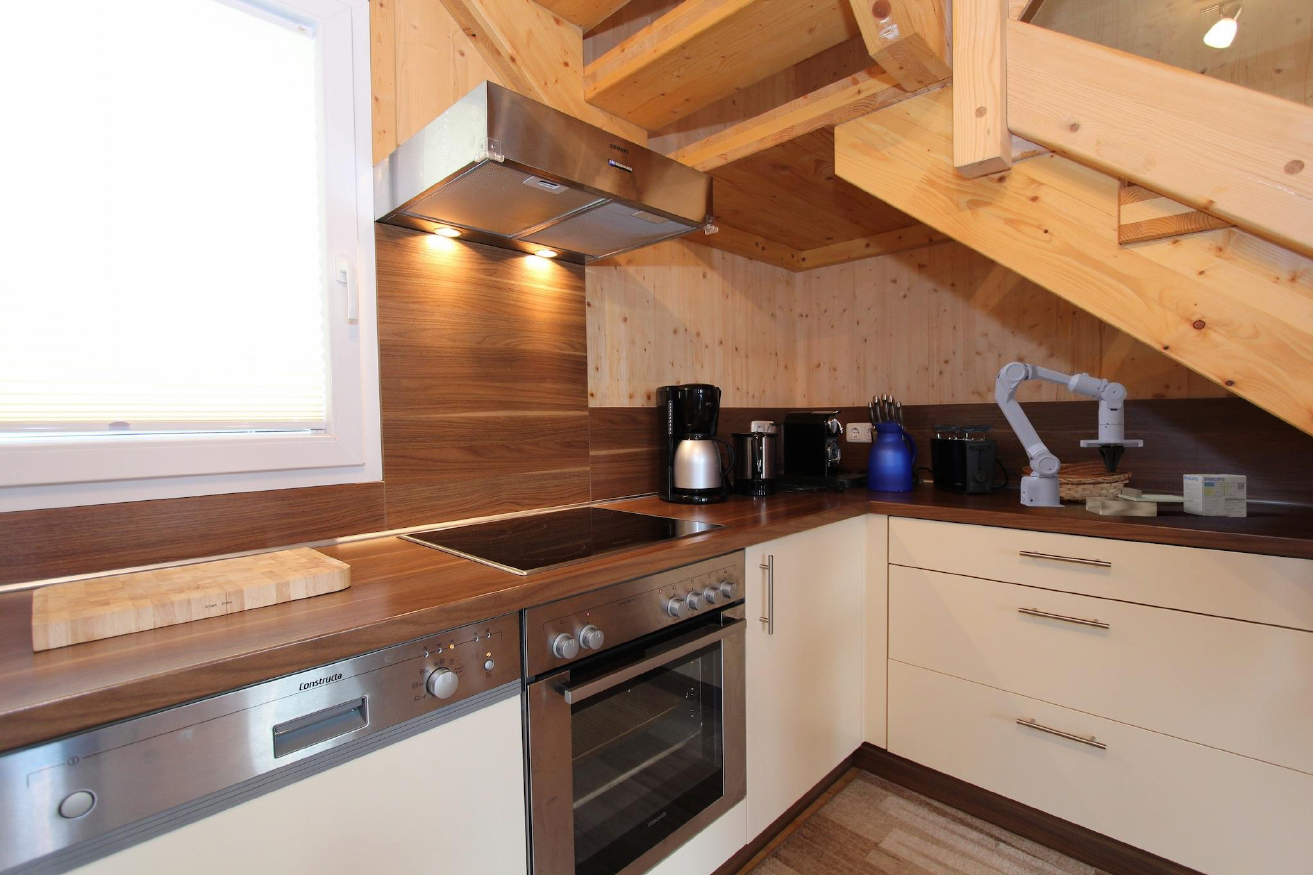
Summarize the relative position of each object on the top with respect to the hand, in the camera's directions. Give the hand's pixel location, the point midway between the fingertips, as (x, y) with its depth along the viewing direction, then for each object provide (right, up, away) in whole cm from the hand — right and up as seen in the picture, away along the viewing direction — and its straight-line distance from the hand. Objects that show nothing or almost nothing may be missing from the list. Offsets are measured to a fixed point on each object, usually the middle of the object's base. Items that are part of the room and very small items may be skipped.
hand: (1111, 472), depth 169 cm
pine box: (-6, -11, -11) cm, 17 cm away
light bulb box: (+15, -11, -15) cm, 24 cm away
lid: (+1, -6, -14) cm, 15 cm away
